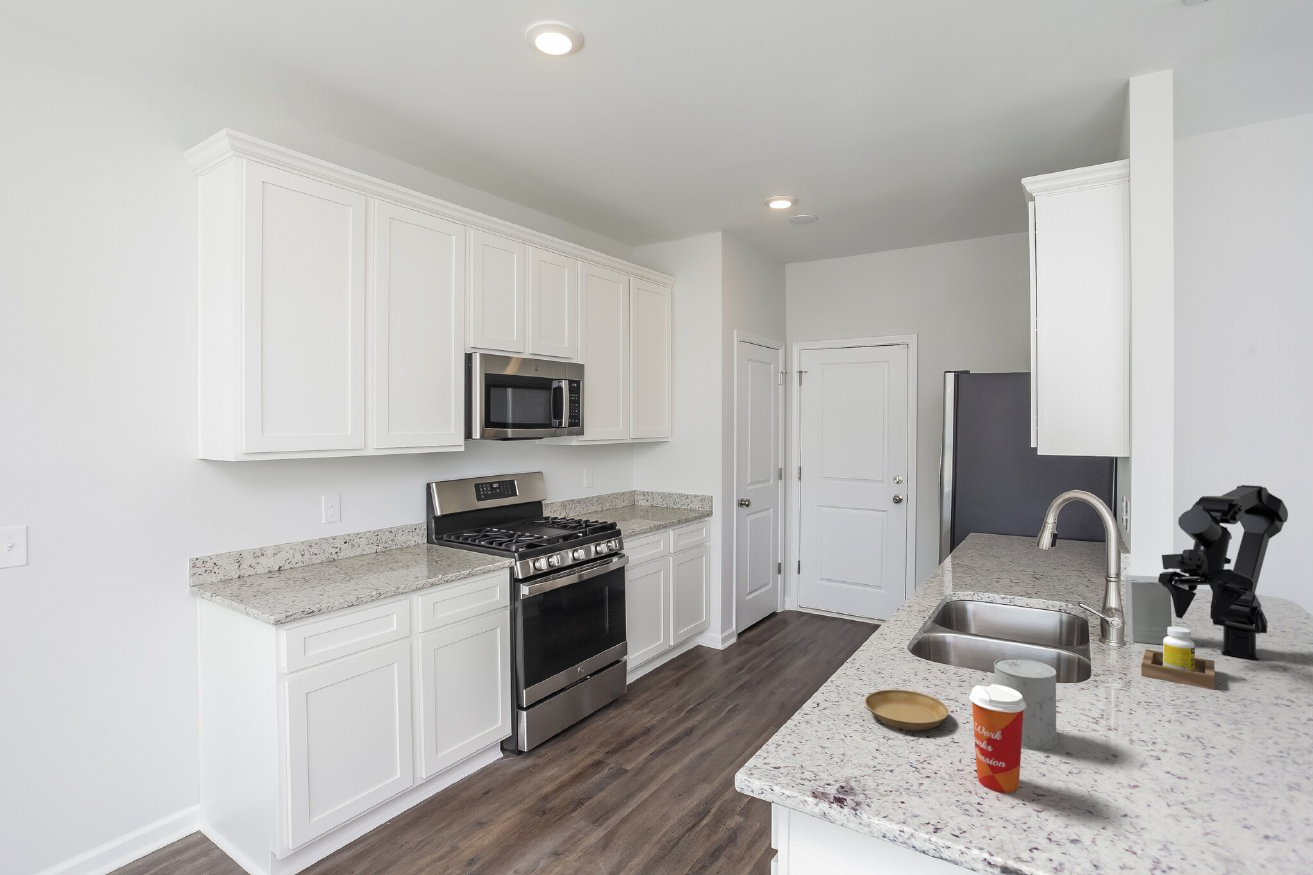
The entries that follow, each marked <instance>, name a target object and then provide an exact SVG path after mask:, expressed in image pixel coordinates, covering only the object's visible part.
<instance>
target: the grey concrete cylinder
mask: <svg viewBox="0 0 1313 875" xmlns="http://www.w3.org/2000/svg"><path fill="white" fill-rule="evenodd" d="M993 665H994V685H1001V686H1005V687H1009V688H1012V689H1014V690H1016V691H1018V692H1019V693H1020V694H1021V695H1022V697H1023V701H1024V702H1025V704H1026V708H1025V709H1024V710H1023V727H1022V744H1021V749H1025V750H1030V751H1031V750H1032V751H1048V750H1052V749H1053V748H1055V747H1057V743H1058V742H1057V670H1056V669H1055V668H1054V667H1052V666H1051V665H1049V664H1046V663H1044V662H1040V661H1037V660H1034V659H1028V658H1021V657H1003V658H999V659H996V660H995V661H994V662H993Z"/></svg>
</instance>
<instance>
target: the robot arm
mask: <svg viewBox="0 0 1313 875" xmlns="http://www.w3.org/2000/svg"><path fill="white" fill-rule="evenodd" d="M1286 506H1287V505H1285V503H1284V501H1283V500H1282V499H1281V498H1279V497H1278V496H1276V495H1274V494H1272V493H1271V492H1269V490H1268V488H1267V487H1265V486H1262V485H1249V484H1248V485H1247V484H1246V485H1245V484H1242V485H1238V486H1236V488H1234V489H1233V490H1231V491H1229V492H1227V493H1224V494H1222V495H1205V496H1204V495H1203V496H1201V497H1200V498H1198V500H1197V501H1196V502H1195V503H1194V504H1192V506H1191V508H1190V509H1188V510H1186V511H1185V512H1183V513H1182V514H1180V516H1179V517H1178V521H1177V522H1178V523H1177V524H1178V526H1179V528H1180V529H1181V530H1182V531H1183V532H1184V533H1185V534H1187V535H1188V536H1189V537H1190V538H1191V539H1192V540H1193V541H1194V543H1193V547H1192V549H1189V548H1188V549H1183V550H1182V553H1170V554H1169V553H1168V554H1161V562H1162V568H1163V570H1169V569H1171V571H1170V570H1169V571H1163V572H1161V573H1159V579H1158V582H1159V583H1162V585H1163V586H1164V587H1166V588H1167V589H1168V590H1169V591H1170V593H1171V600H1172V603H1173V608H1174V614H1175V617H1176V618H1178V619H1183V617H1184V616H1185V615H1186V613H1187V611H1188V609H1189V607H1190V606H1191V604H1192V602H1193V601H1194V599H1195V597H1196V595H1197V593H1196V592H1195V591H1196V590H1197V589H1198V586H1209V587H1210V590H1211V591H1212V594H1211V595H1212V596H1211V603H1210V611H1209V613H1210V616H1209V618H1210V619H1211V620H1212V623H1213V624H1212V625H1214V626H1220V627H1223V629H1222V630H1223V632H1222V633H1223V635H1222V636H1223V637H1222V639H1223V644H1221V645H1220V654H1221V655H1224V656H1230V657H1237V658H1244V659H1249V660H1255V661H1259V660H1260V656H1259V651H1258V650H1257V635H1259V634H1268V627H1269V625H1268V619H1267V618H1266V615H1265V613H1264V611H1263V609H1262V604H1261V602H1260V599H1259V598H1258V596H1257V594H1256V590H1257V586H1258V583H1259V578H1260V575H1261V572H1262V568H1263V564H1264V561H1265V556H1266V553H1267V550H1268V549H1267V548H1268V545H1269V541H1270V539H1272V538H1273V537H1274V536H1276V535H1277V534H1279V533H1280V532H1282V529H1283V526H1284V523H1286V522H1287V521H1288V518H1289V513H1288V512H1289V511H1288V509H1287V507H1286ZM1238 523H1240V524H1241V526H1242V528H1243V533H1242V536H1241V541H1240V545H1239V547H1238V551H1237V555H1236V558H1235V562H1234V566H1233V569H1231V568H1225V565H1230V564H1231V563H1232V559H1231V558H1229V557H1227V556H1228V550H1229V545H1230V540H1232V539H1233V535H1232V534H1231V531H1229V529H1228V527H1227V526H1224V525H1221V524H1225V525H1237V524H1238ZM1175 570H1179V572H1178V571H1175ZM1186 574H1187V575H1186Z"/></svg>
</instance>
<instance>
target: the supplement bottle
mask: <svg viewBox="0 0 1313 875" xmlns="http://www.w3.org/2000/svg"><path fill="white" fill-rule="evenodd" d="M1167 634H1168V635H1169V636H1167V637H1165V638H1164V639H1163V644H1162V645H1163V646H1162V652H1163V665H1162V666H1165V667H1171V668H1176V669H1182V670H1188V671H1193V672H1196V671H1195V658H1196V657H1195V656H1196V645H1195V642H1194V641H1193V640H1192V639H1190V638H1191V637H1192V631H1191V630H1190V629H1189V628H1185V627H1182V626H1181V627H1180V626H1172V627H1168V628H1167Z"/></svg>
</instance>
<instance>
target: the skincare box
mask: <svg viewBox="0 0 1313 875" xmlns="http://www.w3.org/2000/svg"><path fill="white" fill-rule="evenodd" d="M1158 579H1159V576H1156V575H1155V576H1153V575H1152V576H1150V575H1149V576H1148V575H1133V574H1132V575H1131V574H1129V575H1128V574H1126V575H1125V602H1126V609H1125V610H1126V635H1127V637H1129V639H1130V640H1131V642H1132V643H1139V644H1154V645H1163V639H1164V638H1165V637H1167V636H1169V635H1168V634H1167V628H1168V627H1173V624H1172V623H1173V622H1172V596H1171V593H1170V591H1169V590H1168V589H1167V588H1166V587H1164V586H1163V585H1162V583H1159V582H1158Z"/></svg>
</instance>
